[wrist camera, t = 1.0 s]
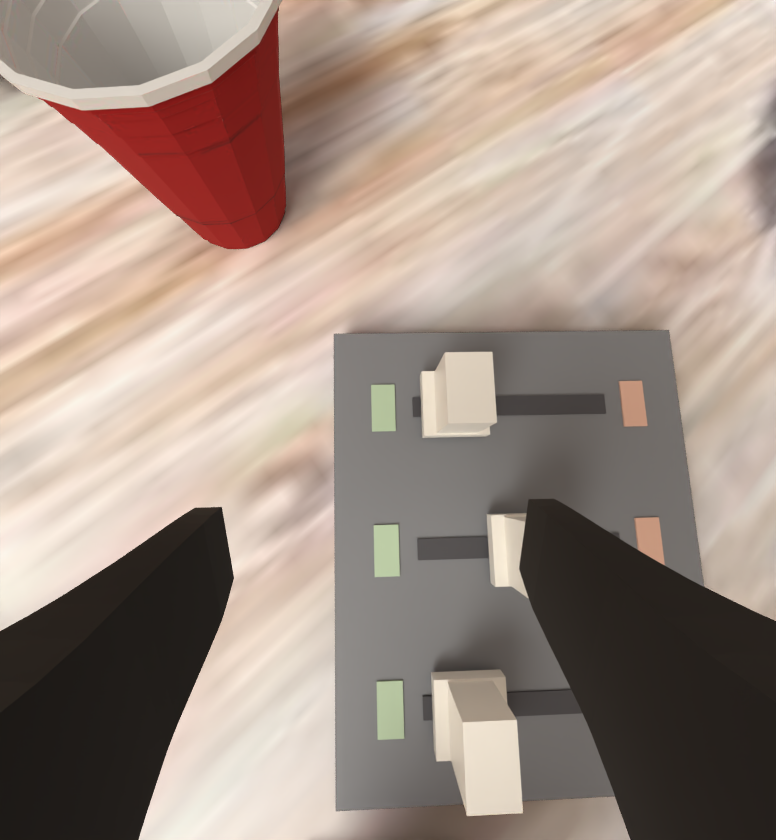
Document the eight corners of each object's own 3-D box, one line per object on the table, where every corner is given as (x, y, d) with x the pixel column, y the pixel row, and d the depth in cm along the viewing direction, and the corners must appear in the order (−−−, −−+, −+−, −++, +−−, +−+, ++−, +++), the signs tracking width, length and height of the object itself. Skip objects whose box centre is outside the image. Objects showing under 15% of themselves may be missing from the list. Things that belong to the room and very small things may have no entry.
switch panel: (698, 761, 21) (733, 791, 19) (339, 780, 20) (335, 812, 18) (645, 342, 25) (670, 329, 22) (337, 346, 24) (333, 333, 22)
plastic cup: (260, 94, 26) (167, -226, 14) (362, 222, 25) (352, -14, 13) (108, 184, 25) (-131, -88, 13) (208, 323, 24) (46, 162, 12)
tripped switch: (556, 580, 20) (601, 603, 16) (490, 582, 20) (519, 606, 16) (551, 512, 21) (593, 518, 17) (486, 514, 20) (513, 520, 16)
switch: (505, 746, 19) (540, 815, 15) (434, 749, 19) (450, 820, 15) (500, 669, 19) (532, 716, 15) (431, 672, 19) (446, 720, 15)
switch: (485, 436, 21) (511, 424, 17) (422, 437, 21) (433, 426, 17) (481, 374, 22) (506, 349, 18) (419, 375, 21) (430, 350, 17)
